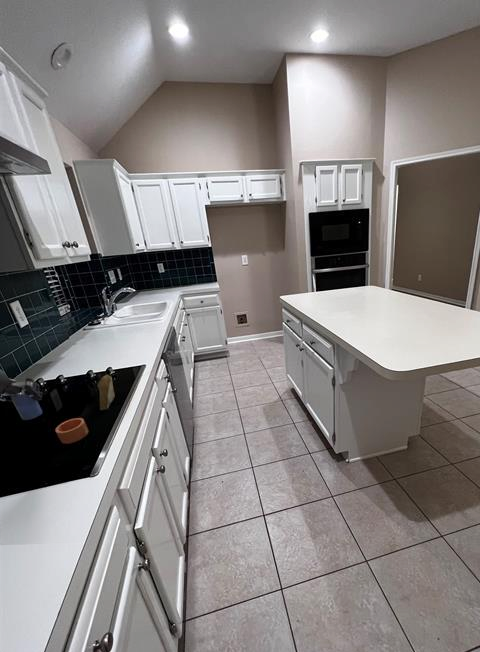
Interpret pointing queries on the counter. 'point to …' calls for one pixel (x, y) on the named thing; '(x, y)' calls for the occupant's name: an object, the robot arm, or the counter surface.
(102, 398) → the rock
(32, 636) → the counter surface
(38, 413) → the blue cylinder
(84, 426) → the ring
